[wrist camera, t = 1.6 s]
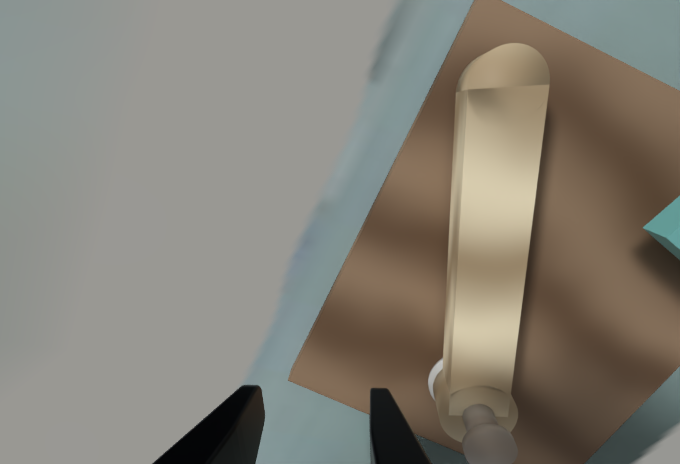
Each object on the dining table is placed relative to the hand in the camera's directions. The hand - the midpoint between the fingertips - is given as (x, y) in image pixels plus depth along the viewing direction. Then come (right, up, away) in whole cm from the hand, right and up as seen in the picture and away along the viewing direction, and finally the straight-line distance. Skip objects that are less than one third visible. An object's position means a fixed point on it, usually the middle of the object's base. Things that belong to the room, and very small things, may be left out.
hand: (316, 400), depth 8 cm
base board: (+11, +1, +12) cm, 16 cm away
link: (+8, +2, +10) cm, 13 cm away
